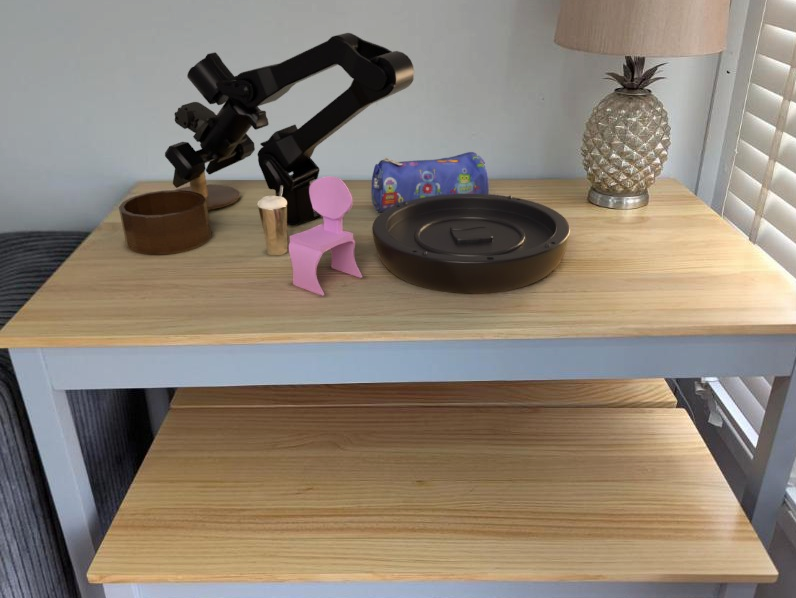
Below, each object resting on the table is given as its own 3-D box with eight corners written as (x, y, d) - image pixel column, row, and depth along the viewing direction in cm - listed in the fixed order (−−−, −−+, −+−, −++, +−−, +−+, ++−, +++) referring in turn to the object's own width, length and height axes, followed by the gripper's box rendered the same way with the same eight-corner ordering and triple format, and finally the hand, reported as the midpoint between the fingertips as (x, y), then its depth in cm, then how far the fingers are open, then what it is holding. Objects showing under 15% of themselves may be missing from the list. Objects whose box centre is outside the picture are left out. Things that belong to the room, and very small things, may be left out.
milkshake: (299, 247, 126) (294, 187, 121) (281, 258, 122) (275, 197, 117) (276, 243, 128) (269, 183, 123) (257, 254, 124) (250, 193, 119)
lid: (254, 202, 147) (249, 165, 143) (183, 220, 138) (177, 181, 135) (216, 185, 156) (211, 150, 153) (148, 201, 148) (141, 164, 145)
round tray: (363, 231, 132) (387, 307, 106) (362, 197, 129) (386, 266, 103) (533, 219, 136) (596, 289, 110) (535, 185, 133) (600, 250, 107)
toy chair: (285, 284, 114) (275, 183, 106) (328, 265, 119) (321, 169, 112) (325, 299, 109) (318, 195, 101) (367, 279, 115) (363, 179, 107)
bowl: (216, 224, 136) (210, 188, 133) (203, 253, 125) (197, 215, 121) (137, 227, 136) (130, 191, 133) (117, 256, 124) (109, 218, 121)
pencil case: (375, 219, 137) (373, 166, 132) (365, 204, 144) (363, 153, 140) (493, 208, 141) (495, 156, 137) (478, 194, 149) (480, 144, 144)
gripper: (234, 79, 143) (196, 134, 152) (163, 98, 128) (127, 157, 138) (273, 127, 143) (233, 178, 153) (207, 151, 129) (168, 206, 139)
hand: (191, 178), depth 146 cm, fingers open, 9 cm apart
